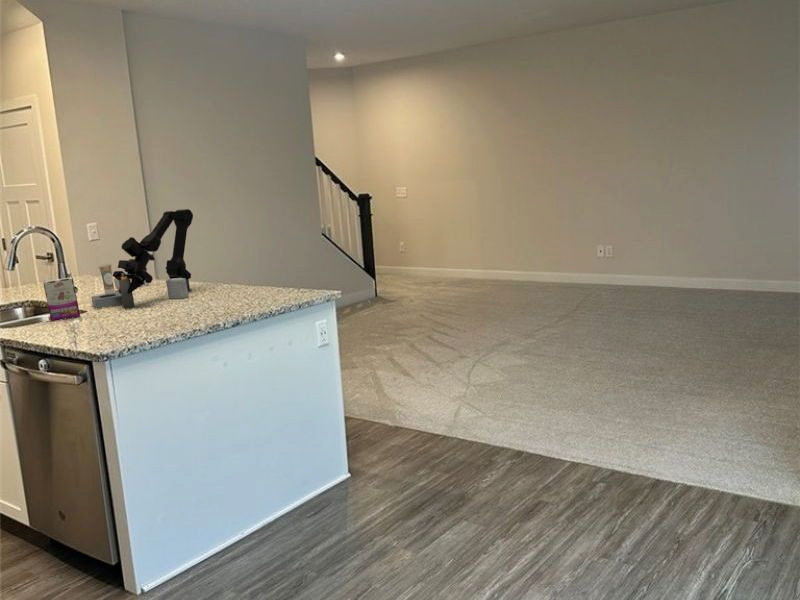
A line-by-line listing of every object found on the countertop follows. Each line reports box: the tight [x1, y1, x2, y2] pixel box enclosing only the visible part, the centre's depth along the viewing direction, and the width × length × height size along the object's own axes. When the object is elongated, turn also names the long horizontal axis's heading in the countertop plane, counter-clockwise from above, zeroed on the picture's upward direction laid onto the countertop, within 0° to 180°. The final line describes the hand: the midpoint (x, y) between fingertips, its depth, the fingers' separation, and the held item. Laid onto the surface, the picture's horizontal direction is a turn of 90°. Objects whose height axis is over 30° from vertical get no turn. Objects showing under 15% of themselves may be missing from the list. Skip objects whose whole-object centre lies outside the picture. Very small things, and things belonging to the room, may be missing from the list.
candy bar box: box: [42, 276, 81, 322], centre depth 285 cm, size 11×5×16 cm, turn 117°
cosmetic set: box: [98, 257, 150, 295], centre depth 345 cm, size 25×9×19 cm, turn 145°
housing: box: [90, 291, 123, 309], centre depth 309 cm, size 12×12×4 cm
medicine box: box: [165, 278, 189, 300], centre depth 310 cm, size 8×4×9 cm, turn 65°
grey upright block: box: [119, 276, 136, 310], centre depth 296 cm, size 5×5×14 cm
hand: (123, 293), depth 295 cm, fingers closed on grey upright block, 5 cm apart
